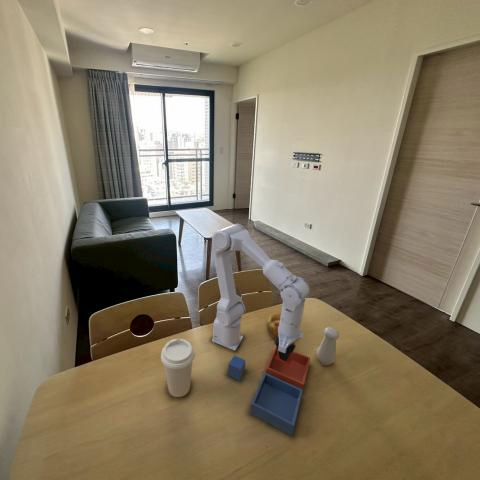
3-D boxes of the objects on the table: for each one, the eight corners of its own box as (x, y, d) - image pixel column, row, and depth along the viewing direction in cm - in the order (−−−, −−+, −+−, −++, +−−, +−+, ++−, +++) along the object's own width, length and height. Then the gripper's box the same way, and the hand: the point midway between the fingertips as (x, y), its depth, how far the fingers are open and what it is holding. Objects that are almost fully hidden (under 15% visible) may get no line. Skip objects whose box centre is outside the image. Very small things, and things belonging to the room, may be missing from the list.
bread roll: (263, 320, 104) (265, 304, 101) (286, 320, 104) (288, 304, 101) (271, 344, 92) (274, 327, 89) (297, 343, 92) (301, 326, 89)
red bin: (265, 377, 79) (266, 368, 78) (274, 352, 88) (276, 344, 87) (301, 394, 74) (304, 384, 73) (308, 366, 83) (310, 357, 82)
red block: (276, 359, 77) (278, 346, 75) (279, 350, 80) (281, 338, 78) (289, 364, 75) (291, 352, 73) (292, 355, 78) (294, 343, 77)
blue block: (227, 375, 80) (228, 363, 78) (233, 366, 83) (233, 354, 81) (239, 381, 78) (240, 369, 76) (244, 371, 81) (245, 360, 79)
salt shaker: (330, 354, 88) (338, 325, 83) (336, 368, 82) (345, 337, 78) (313, 353, 88) (320, 323, 83) (318, 366, 83) (326, 336, 78)
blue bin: (250, 413, 69) (251, 403, 67) (263, 381, 78) (264, 372, 76) (292, 436, 64) (294, 426, 62) (300, 399, 73) (302, 389, 71)
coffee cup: (199, 378, 78) (199, 341, 73) (187, 407, 70) (186, 367, 64) (172, 369, 81) (170, 333, 76) (157, 396, 73) (153, 357, 67)
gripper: (300, 339, 64) (292, 377, 70) (309, 309, 76) (302, 343, 81) (273, 329, 68) (267, 366, 73) (286, 301, 79) (281, 335, 84)
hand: (284, 354), depth 77 cm, fingers closed on red block, 4 cm apart
